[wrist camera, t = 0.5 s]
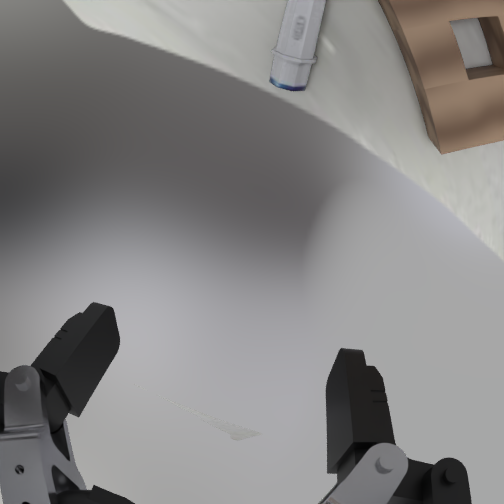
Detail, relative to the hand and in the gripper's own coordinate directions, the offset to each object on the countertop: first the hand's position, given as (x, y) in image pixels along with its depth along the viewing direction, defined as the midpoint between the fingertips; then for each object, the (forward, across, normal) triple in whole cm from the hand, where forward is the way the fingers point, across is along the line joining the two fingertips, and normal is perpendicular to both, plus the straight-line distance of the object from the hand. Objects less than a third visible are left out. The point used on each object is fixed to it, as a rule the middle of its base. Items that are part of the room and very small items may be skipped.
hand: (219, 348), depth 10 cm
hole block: (+23, -19, -20) cm, 36 cm away
